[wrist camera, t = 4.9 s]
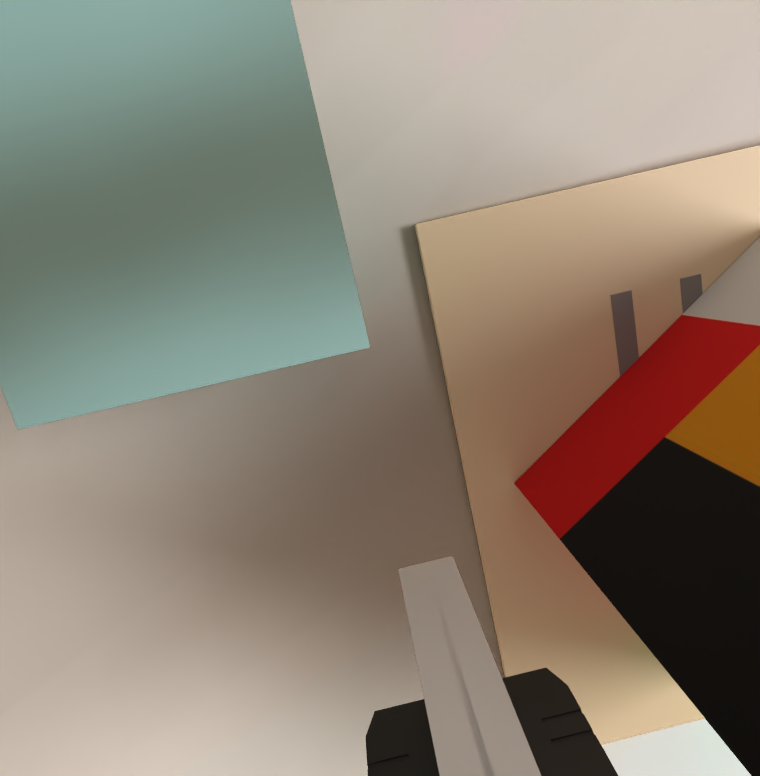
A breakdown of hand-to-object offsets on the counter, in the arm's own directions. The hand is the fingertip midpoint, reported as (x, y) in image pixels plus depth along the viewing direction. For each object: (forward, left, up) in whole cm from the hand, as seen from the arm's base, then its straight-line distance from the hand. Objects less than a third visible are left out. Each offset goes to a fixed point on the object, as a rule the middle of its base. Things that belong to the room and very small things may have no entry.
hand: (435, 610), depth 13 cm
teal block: (-10, -3, -3) cm, 11 cm away
